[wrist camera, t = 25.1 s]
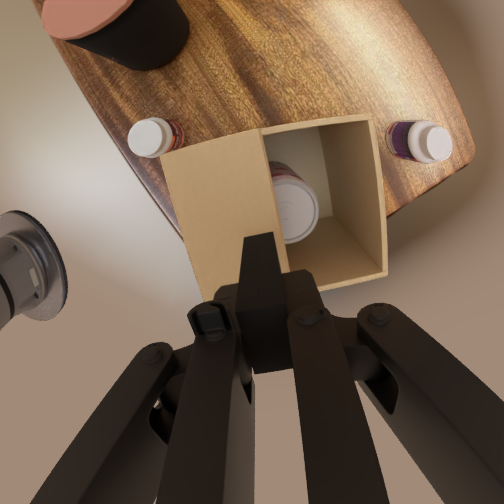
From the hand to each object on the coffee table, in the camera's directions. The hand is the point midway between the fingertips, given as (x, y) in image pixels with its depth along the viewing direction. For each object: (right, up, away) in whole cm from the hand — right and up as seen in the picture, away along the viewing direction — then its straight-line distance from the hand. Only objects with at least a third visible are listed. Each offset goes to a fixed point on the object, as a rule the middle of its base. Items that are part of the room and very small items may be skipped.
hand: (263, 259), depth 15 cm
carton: (+2, +9, +22) cm, 24 cm away
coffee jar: (-14, +29, +14) cm, 35 cm away
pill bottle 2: (+20, +16, +19) cm, 32 cm away
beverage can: (+2, +9, +21) cm, 23 cm away
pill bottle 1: (-12, +15, +20) cm, 27 cm away
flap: (-2, +1, +4) cm, 5 cm away
